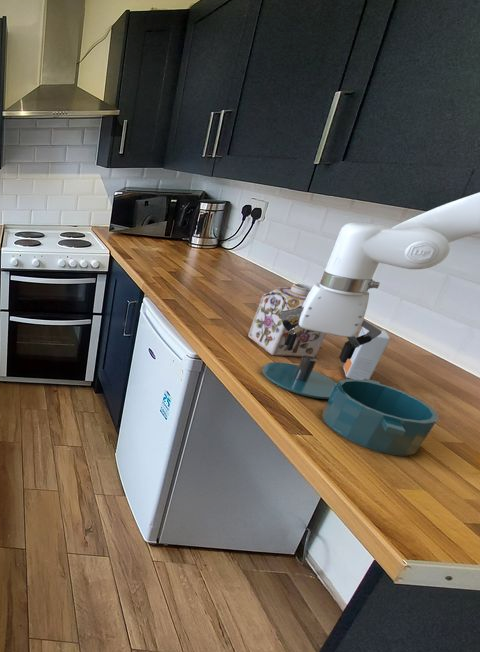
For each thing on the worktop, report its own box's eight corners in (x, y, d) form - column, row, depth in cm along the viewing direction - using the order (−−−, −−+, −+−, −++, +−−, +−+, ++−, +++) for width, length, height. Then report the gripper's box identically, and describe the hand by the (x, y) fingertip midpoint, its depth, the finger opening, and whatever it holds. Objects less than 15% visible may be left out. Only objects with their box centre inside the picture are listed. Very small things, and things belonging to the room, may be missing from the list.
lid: (334, 379, 97) (346, 355, 94) (345, 409, 85) (358, 383, 83) (260, 360, 104) (269, 337, 102) (261, 386, 93) (271, 361, 90)
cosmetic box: (341, 367, 102) (362, 325, 97) (364, 373, 100) (386, 330, 95) (345, 377, 98) (366, 333, 93) (368, 383, 95) (391, 339, 91)
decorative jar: (246, 336, 117) (267, 277, 110) (286, 338, 117) (310, 280, 109) (272, 356, 106) (297, 293, 99) (316, 359, 106) (346, 295, 99)
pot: (401, 418, 83) (419, 388, 80) (433, 476, 68) (457, 442, 65) (316, 395, 90) (330, 366, 87) (328, 443, 75) (345, 410, 72)
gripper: (395, 286, 83) (361, 358, 90) (292, 271, 92) (268, 338, 99) (405, 296, 77) (368, 372, 84) (294, 279, 86) (269, 350, 93)
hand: (314, 354), depth 91 cm, fingers open, 9 cm apart
